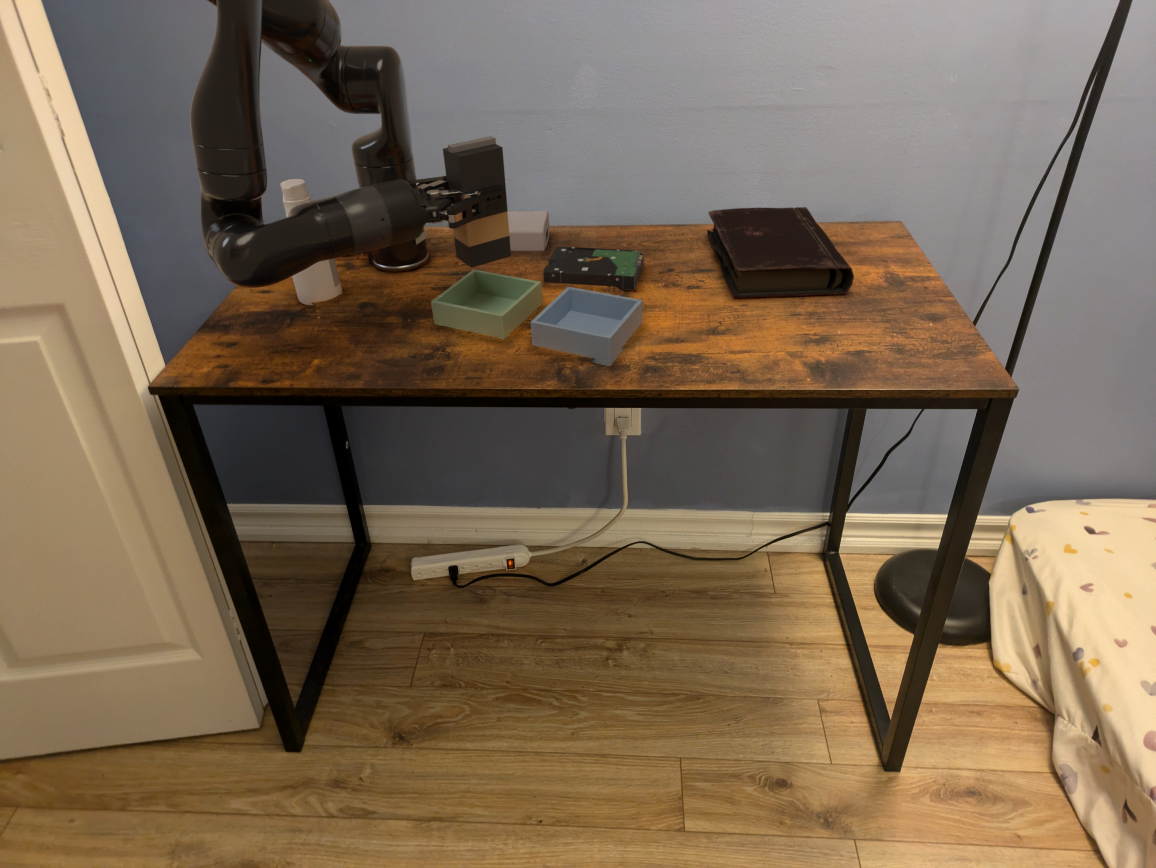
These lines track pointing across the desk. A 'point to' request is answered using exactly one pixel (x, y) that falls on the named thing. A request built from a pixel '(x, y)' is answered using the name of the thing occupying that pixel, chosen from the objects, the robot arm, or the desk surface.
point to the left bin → (487, 303)
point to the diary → (777, 253)
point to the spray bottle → (321, 276)
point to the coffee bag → (489, 234)
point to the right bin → (587, 324)
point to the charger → (528, 230)
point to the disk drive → (594, 267)
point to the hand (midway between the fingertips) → (494, 187)
